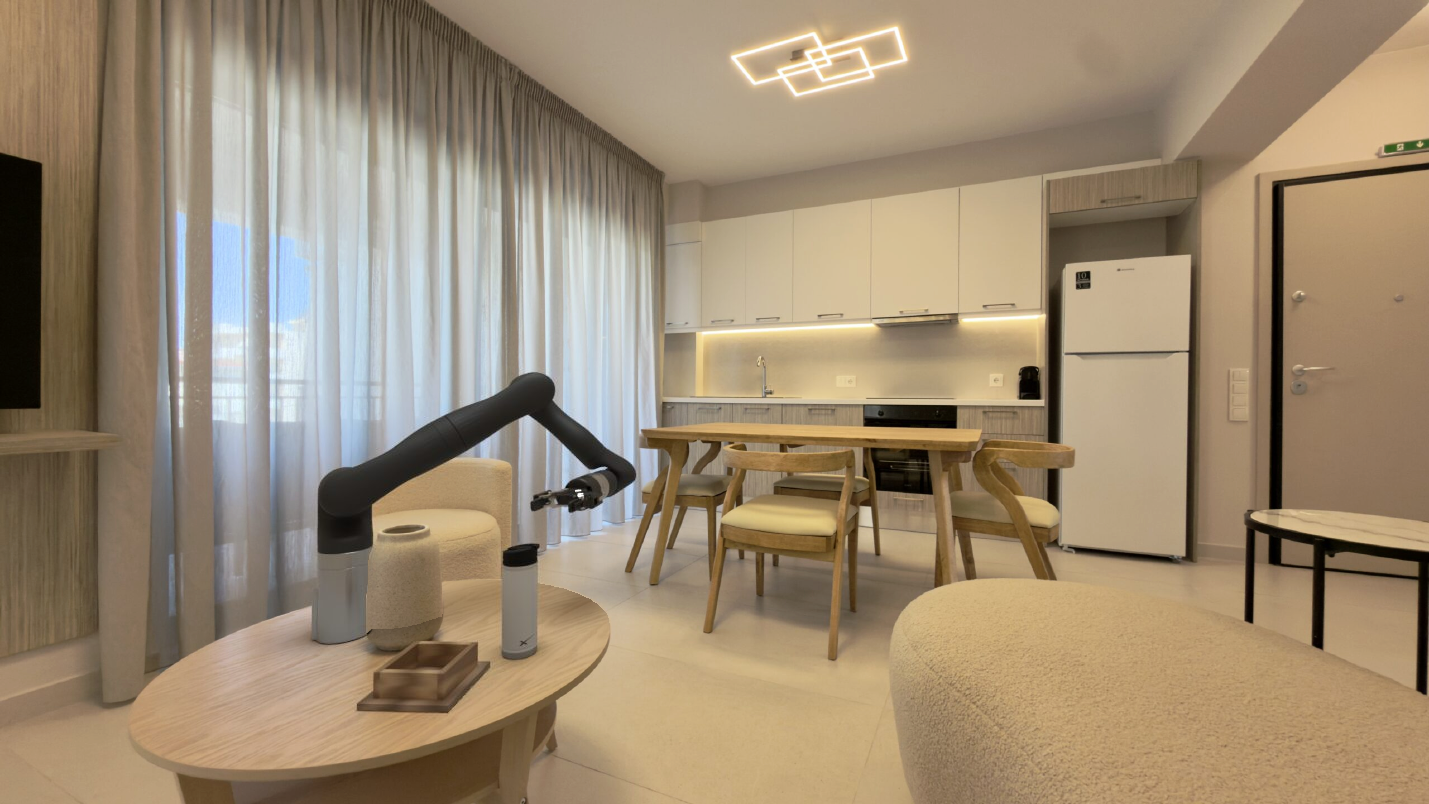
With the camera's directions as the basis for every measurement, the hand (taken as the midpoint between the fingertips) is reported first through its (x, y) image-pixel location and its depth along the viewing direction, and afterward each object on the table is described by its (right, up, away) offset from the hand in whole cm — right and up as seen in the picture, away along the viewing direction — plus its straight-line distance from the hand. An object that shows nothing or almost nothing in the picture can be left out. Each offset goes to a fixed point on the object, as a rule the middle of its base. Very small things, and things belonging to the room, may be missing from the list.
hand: (550, 507), depth 110 cm
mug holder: (-13, -25, -23) cm, 36 cm away
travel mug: (-3, -25, -10) cm, 27 cm away
